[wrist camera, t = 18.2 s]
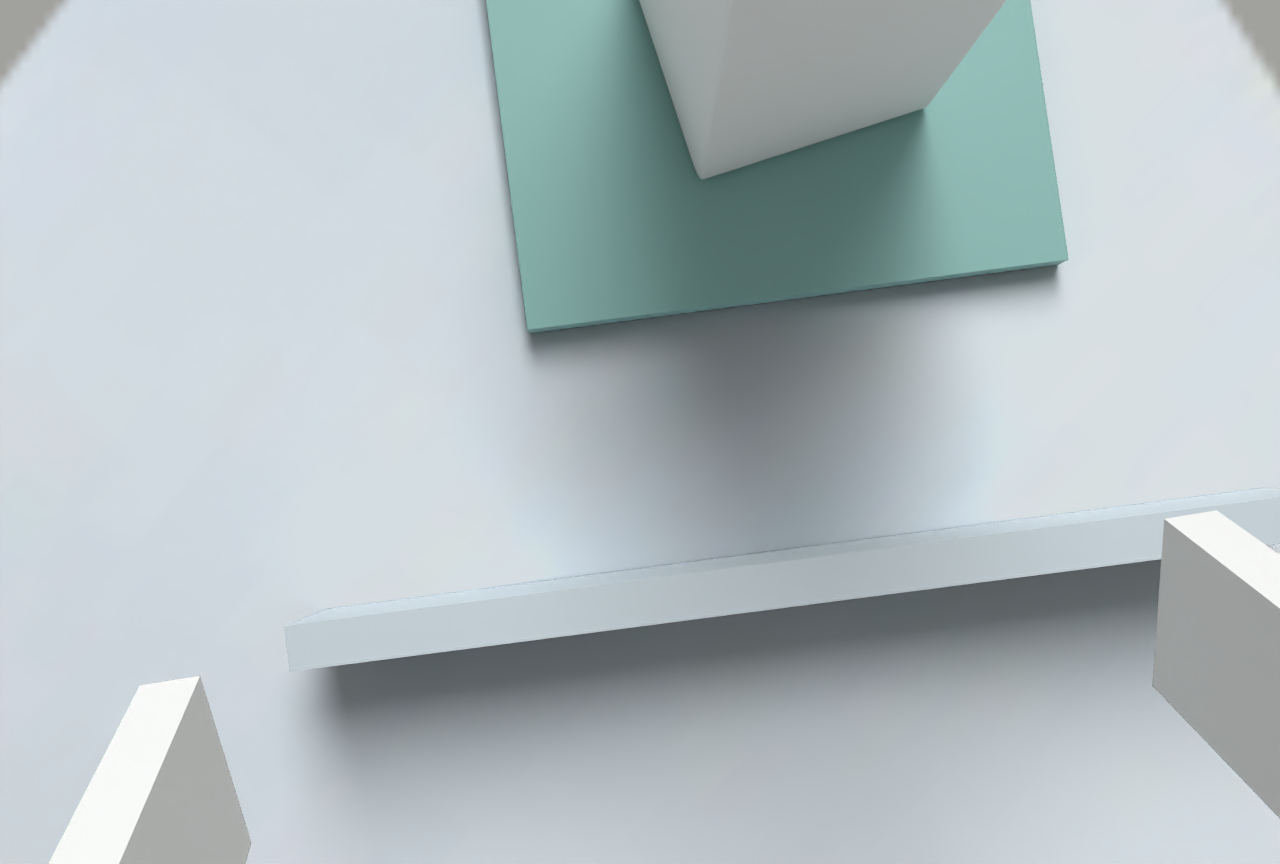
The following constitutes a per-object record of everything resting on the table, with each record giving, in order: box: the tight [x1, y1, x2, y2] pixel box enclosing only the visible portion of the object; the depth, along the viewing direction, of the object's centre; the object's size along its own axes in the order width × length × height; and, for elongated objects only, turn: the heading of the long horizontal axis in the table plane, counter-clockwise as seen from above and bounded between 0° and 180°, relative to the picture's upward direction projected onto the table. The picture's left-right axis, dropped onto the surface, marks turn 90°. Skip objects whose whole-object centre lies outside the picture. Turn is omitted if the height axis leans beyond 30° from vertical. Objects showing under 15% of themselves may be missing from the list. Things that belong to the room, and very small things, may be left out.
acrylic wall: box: [284, 488, 1280, 672], centre depth 31 cm, size 28×1×4 cm, turn 97°
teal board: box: [486, 0, 1068, 333], centre depth 34 cm, size 16×16×1 cm
